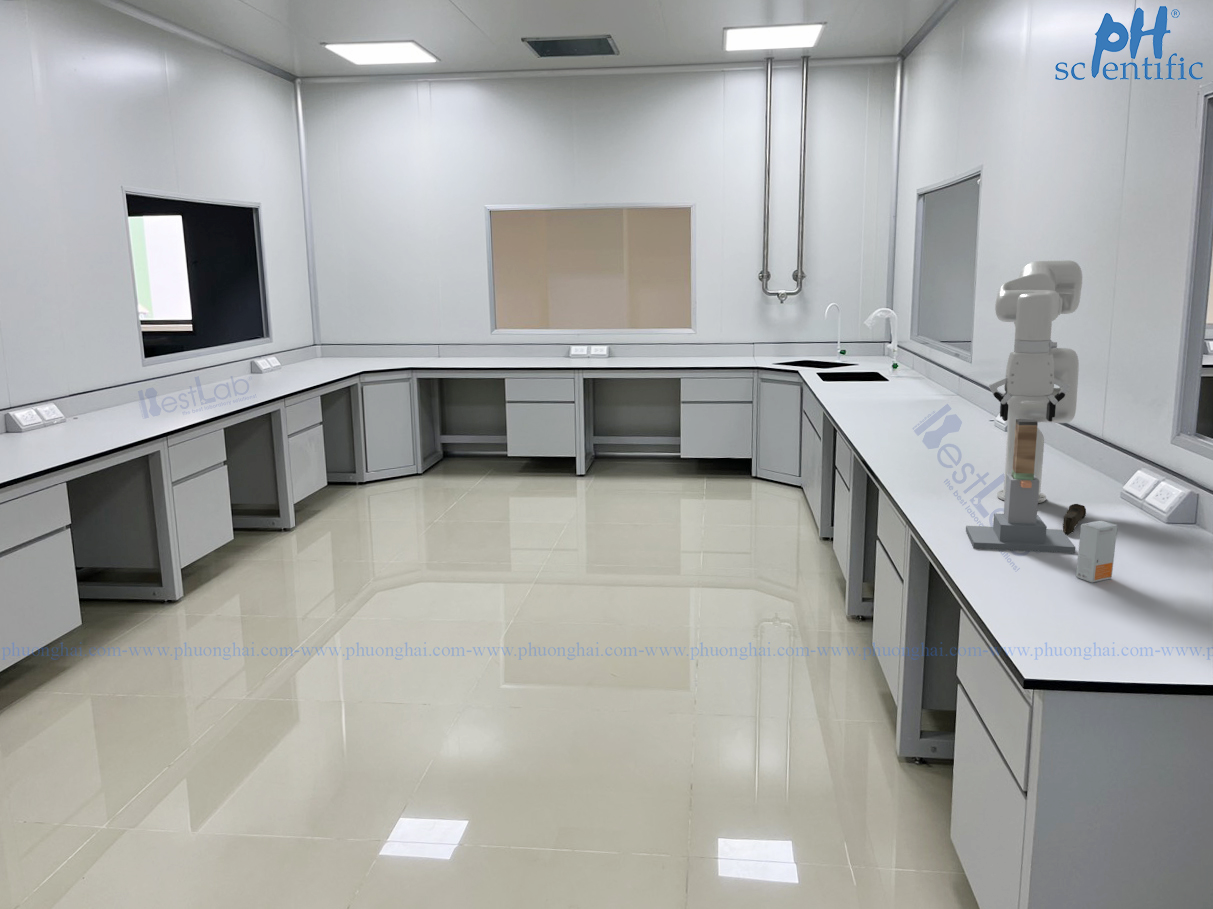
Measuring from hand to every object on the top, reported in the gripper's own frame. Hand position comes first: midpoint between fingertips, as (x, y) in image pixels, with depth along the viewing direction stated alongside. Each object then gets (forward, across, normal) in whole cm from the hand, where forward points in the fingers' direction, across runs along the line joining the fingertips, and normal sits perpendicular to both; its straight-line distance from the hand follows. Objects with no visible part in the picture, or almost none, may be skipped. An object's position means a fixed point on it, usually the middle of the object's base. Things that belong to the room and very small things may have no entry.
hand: (1026, 420), depth 216 cm
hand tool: (+31, -16, -15) cm, 37 cm away
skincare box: (+30, -11, +25) cm, 40 cm away
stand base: (+30, 0, +1) cm, 30 cm away
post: (+17, 0, +1) cm, 17 cm away
